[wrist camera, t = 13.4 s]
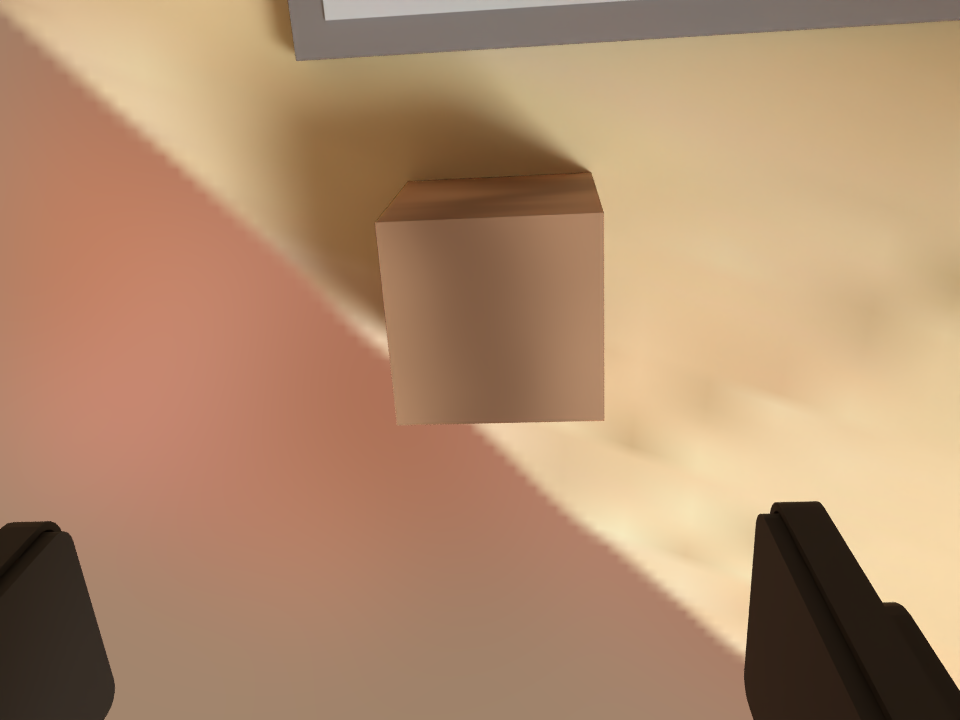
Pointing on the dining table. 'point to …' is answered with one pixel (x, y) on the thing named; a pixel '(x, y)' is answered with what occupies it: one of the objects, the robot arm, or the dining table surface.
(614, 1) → the blueprint board
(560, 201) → the walnut cube
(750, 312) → the dining table surface
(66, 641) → the robot arm
